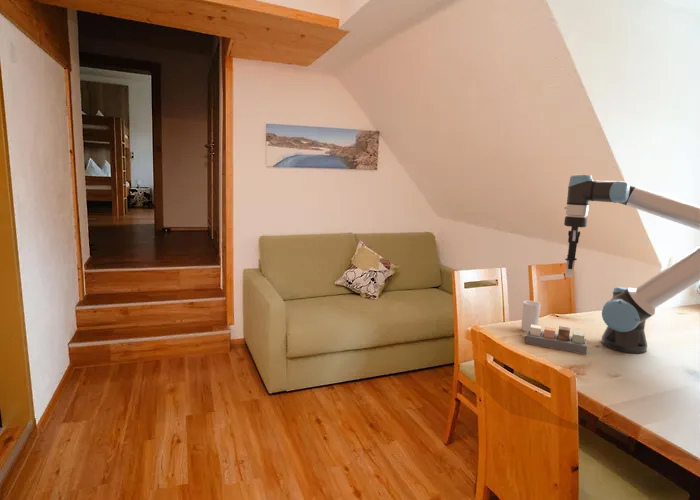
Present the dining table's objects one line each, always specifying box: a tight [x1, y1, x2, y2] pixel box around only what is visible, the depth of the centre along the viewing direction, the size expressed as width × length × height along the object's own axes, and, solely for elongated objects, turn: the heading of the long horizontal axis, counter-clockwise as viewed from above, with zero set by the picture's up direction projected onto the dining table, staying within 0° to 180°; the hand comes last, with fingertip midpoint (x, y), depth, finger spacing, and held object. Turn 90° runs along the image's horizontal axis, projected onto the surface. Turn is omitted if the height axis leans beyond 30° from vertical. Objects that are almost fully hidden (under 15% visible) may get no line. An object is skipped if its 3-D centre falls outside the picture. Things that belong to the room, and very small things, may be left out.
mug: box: [520, 300, 542, 333], centre depth 185 cm, size 10×7×12 cm, turn 138°
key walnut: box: [557, 325, 571, 341], centre depth 167 cm, size 4×4×4 cm
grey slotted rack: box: [525, 329, 588, 355], centre depth 169 cm, size 21×9×3 cm, turn 64°
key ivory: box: [530, 324, 542, 336], centre depth 172 cm, size 4×4×4 cm
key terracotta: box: [543, 326, 556, 339], centre depth 169 cm, size 4×4×4 cm
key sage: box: [571, 330, 585, 344], centre depth 165 cm, size 4×4×4 cm
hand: (568, 276), depth 168 cm, fingers closed
